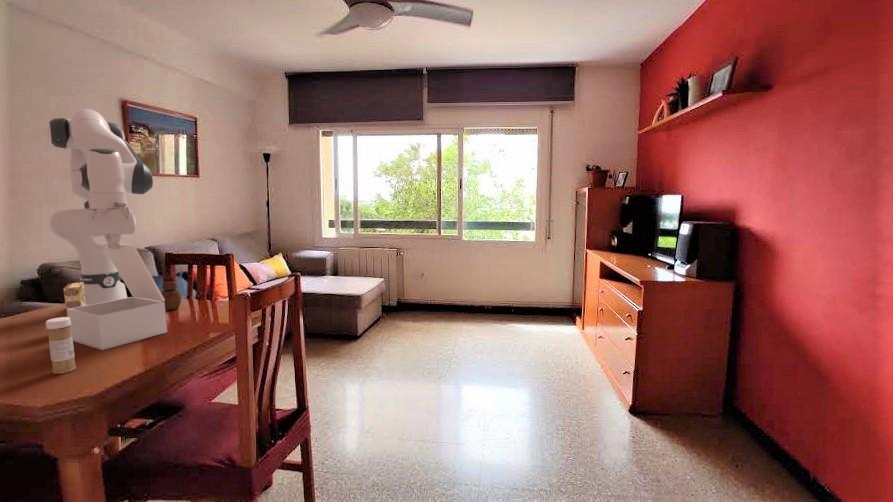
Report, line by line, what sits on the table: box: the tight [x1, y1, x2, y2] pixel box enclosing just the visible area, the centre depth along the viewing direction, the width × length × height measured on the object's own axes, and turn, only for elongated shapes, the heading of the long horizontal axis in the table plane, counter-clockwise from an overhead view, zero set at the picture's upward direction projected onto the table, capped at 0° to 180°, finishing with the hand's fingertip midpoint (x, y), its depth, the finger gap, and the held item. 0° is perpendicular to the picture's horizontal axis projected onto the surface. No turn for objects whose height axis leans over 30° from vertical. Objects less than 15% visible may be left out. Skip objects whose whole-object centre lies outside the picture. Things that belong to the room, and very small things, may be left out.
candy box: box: [62, 282, 86, 317], centre depth 141 cm, size 9×4×15 cm, turn 33°
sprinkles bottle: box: [45, 316, 77, 375], centre depth 108 cm, size 5×5×13 cm
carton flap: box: [100, 241, 165, 301], centre depth 138 cm, size 18×20×1 cm
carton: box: [68, 296, 168, 351], centre depth 135 cm, size 18×18×10 cm
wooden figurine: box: [161, 270, 182, 311], centre depth 168 cm, size 7×6×15 cm
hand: (113, 248), depth 133 cm, fingers closed, pressing on carton flap
